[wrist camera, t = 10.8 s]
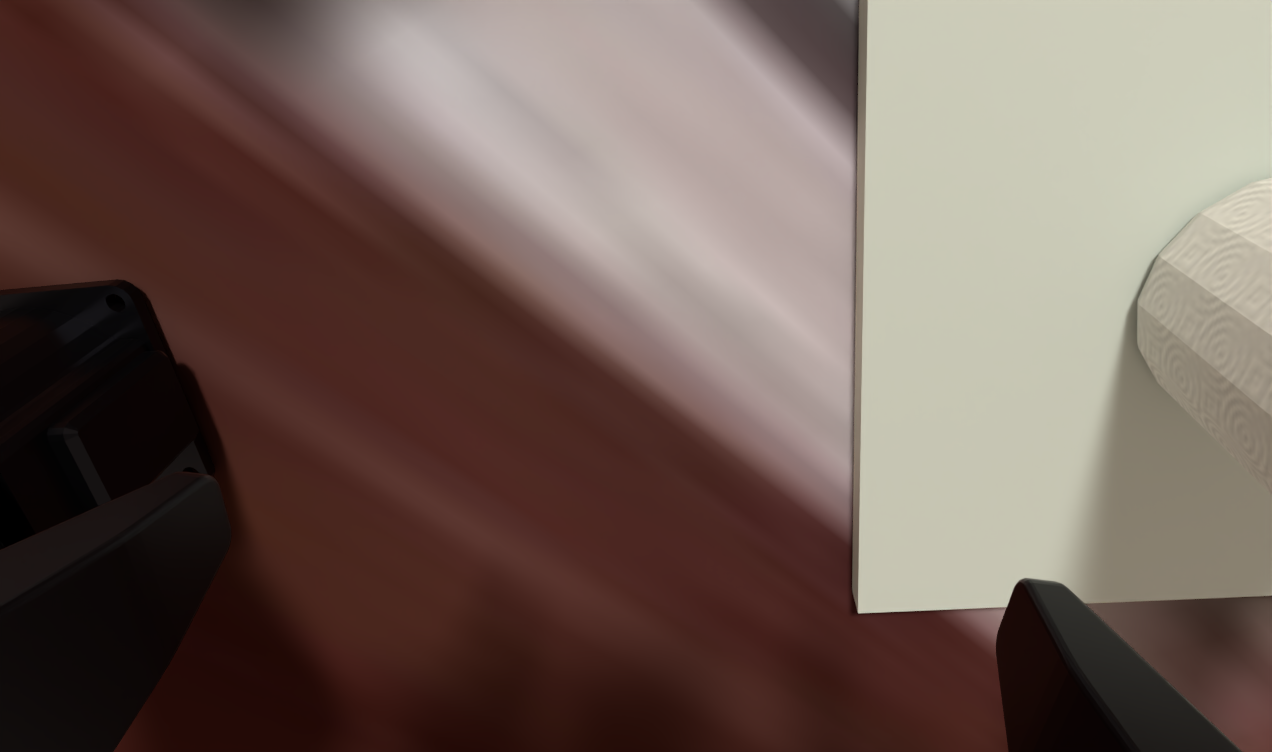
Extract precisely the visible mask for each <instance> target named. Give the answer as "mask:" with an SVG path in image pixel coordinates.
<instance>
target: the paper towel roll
mask: <svg viewBox="0 0 1272 752" xmlns="http://www.w3.org/2000/svg"><path fill="white" fill-rule="evenodd" d="M1137 344H1138V348H1139V350H1140V352H1141V354H1142V355H1143V357H1144V359H1145V361H1146V363H1147V364H1148V366H1149V368H1150V370H1151V372H1152V373H1153V375H1154V377H1155V379H1156V381H1157V383H1158V384H1159V385H1160V386H1161V387H1162V388H1163V389H1164V390H1165V391H1166V392H1167V393H1168V394H1169V395H1170V396H1171V397H1172V398H1173V399H1175V400H1176V401H1177V402H1178V403H1179V404H1180V405H1181V406H1182V407H1183V408H1184V409H1185V410H1186V411H1187V412H1188V413H1189V414H1190V415H1191V416H1192V417H1193V418H1194V419H1195V420H1196V421H1197V422H1198V423H1199V424H1200V425H1201V426H1202V427H1203V428H1204V429H1205V430H1206V431H1207V432H1208V433H1209V434H1210V435H1211V436H1212V437H1213V438H1214V439H1215V440H1216V441H1217V442H1218V443H1219V444H1220V445H1221V446H1222V447H1223V448H1224V449H1226V450H1227V451H1228V452H1229V453H1230V454H1231V455H1232V456H1233V457H1234V458H1235V459H1236V460H1237V461H1238V462H1239V463H1240V464H1241V465H1242V466H1243V467H1244V468H1245V469H1246V470H1247V471H1248V472H1249V473H1250V474H1251V475H1252V476H1253V477H1254V478H1255V479H1256V480H1257V481H1258V482H1259V483H1260V484H1261V485H1262V486H1263V487H1264V488H1265V489H1266V490H1267V491H1268V492H1269V493H1270V494H1271V495H1272V178H1268V179H1264V180H1259V181H1255V182H1251V183H1249V184H1248V185H1246V186H1244V187H1242V188H1241V189H1239V190H1237V191H1235V192H1234V193H1232V194H1230V195H1228V196H1227V197H1225V198H1223V199H1221V200H1220V201H1218V202H1216V203H1214V204H1213V205H1211V206H1209V207H1207V208H1206V209H1204V210H1202V211H1200V212H1199V213H1197V215H1196V216H1195V217H1194V218H1193V219H1192V220H1191V221H1190V222H1189V223H1188V224H1187V225H1186V226H1185V227H1184V228H1183V229H1182V230H1181V231H1180V232H1179V233H1178V235H1177V236H1176V237H1175V238H1174V239H1173V240H1172V241H1171V242H1170V243H1169V244H1168V245H1167V246H1166V247H1165V248H1164V249H1163V250H1162V251H1161V252H1160V253H1159V255H1158V257H1157V259H1156V261H1155V263H1154V265H1153V268H1152V270H1151V272H1150V274H1149V276H1148V279H1147V281H1146V283H1145V285H1144V287H1143V289H1142V292H1141V294H1140V296H1139V298H1138V306H1137Z"/></svg>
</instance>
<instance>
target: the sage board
mask: <svg viewBox="0 0 1272 752" xmlns="http://www.w3.org/2000/svg"><path fill="white" fill-rule="evenodd" d="M1268 178H1272V0H859V51H858V136H857V220H856V305H855V390H854V475H853V560H852V592H853V596H854V600H855V604H856V608H857V612H858V613H879V612H902V611H925V610H949V609H972V608H996V607H1007V605H1008V603H1009V600H1010V597H1011V594H1012V592H1013V589H1014V587H1015V585H1016V583H1017V582H1018V581H1019V580H1021V579H1023V578H1033V579H1041V580H1049V581H1056V582H1059V583H1062V584H1064V585H1065V586H1066V587H1067V588H1069V589H1070V590H1071V591H1072V592H1073V593H1074V594H1075V595H1076V596H1077V597H1078V598H1079V599H1080V600H1082V601H1083V602H1084V603H1085V604H1089V603H1113V602H1136V601H1159V600H1183V599H1206V598H1229V597H1253V596H1272V495H1271V494H1270V493H1269V492H1268V491H1267V490H1266V489H1265V488H1264V487H1263V486H1262V485H1261V484H1260V483H1259V482H1258V481H1257V480H1256V479H1255V478H1254V477H1253V476H1252V475H1251V474H1250V473H1249V472H1248V471H1247V470H1246V469H1245V468H1244V467H1243V466H1242V465H1241V464H1240V463H1239V462H1238V461H1237V460H1236V459H1235V458H1234V457H1233V456H1232V455H1231V454H1230V453H1229V452H1228V451H1227V450H1226V449H1224V448H1223V447H1222V446H1221V445H1220V444H1219V443H1218V442H1217V441H1216V440H1215V439H1214V438H1213V437H1212V436H1211V435H1210V434H1209V433H1208V432H1207V431H1206V430H1205V429H1204V428H1203V427H1202V426H1201V425H1200V424H1199V423H1198V422H1197V421H1196V420H1195V419H1194V418H1193V417H1192V416H1191V415H1190V414H1189V413H1188V412H1187V411H1186V410H1185V409H1184V408H1183V407H1182V406H1181V405H1180V404H1179V403H1178V402H1177V401H1176V400H1175V399H1173V398H1172V397H1171V396H1170V395H1169V394H1168V393H1167V392H1166V391H1165V390H1164V389H1163V388H1162V387H1161V386H1160V385H1159V384H1158V383H1157V381H1156V379H1155V377H1154V375H1153V373H1152V372H1151V370H1150V368H1149V366H1148V364H1147V363H1146V361H1145V359H1144V357H1143V355H1142V354H1141V352H1140V350H1139V348H1138V344H1137V306H1138V298H1139V296H1140V294H1141V292H1142V289H1143V287H1144V285H1145V283H1146V281H1147V279H1148V276H1149V274H1150V272H1151V270H1152V268H1153V265H1154V263H1155V261H1156V259H1157V257H1158V255H1159V253H1160V252H1161V251H1162V250H1163V249H1164V248H1165V247H1166V246H1167V245H1168V244H1169V243H1170V242H1171V241H1172V240H1173V239H1174V238H1175V237H1176V236H1177V235H1178V233H1179V232H1180V231H1181V230H1182V229H1183V228H1184V227H1185V226H1186V225H1187V224H1188V223H1189V222H1190V221H1191V220H1192V219H1193V218H1194V217H1195V216H1196V215H1197V213H1199V212H1200V211H1202V210H1204V209H1206V208H1207V207H1209V206H1211V205H1213V204H1214V203H1216V202H1218V201H1220V200H1221V199H1223V198H1225V197H1227V196H1228V195H1230V194H1232V193H1234V192H1235V191H1237V190H1239V189H1241V188H1242V187H1244V186H1246V185H1248V184H1249V183H1251V182H1255V181H1259V180H1264V179H1268Z"/></svg>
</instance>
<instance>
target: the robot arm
mask: <svg viewBox="0 0 1272 752" xmlns="http://www.w3.org/2000/svg"><path fill="white" fill-rule="evenodd" d="M115 294H116V295H118V296H120V297H121V298H122V299H123V300H124V302H125V305H123V304H121V303H119V302H118V300H117V299H116V297H115ZM190 467H191V468H194V469H196V470H197V471H198V472H199V473H196V472H194V471H193V470H192V469H191V468H190ZM214 473H215V468H214V464H213V462H212V459H211V457H210V455H209V452H208V450H207V448H206V445H205V443H204V441H203V438H202V436H201V433H200V431H199V428H198V425H197V423H196V421H195V418H194V416H193V414H192V411H191V409H190V407H189V404H188V402H187V399H186V397H185V395H184V392H183V390H182V388H181V385H180V383H179V381H178V378H177V376H176V373H175V371H174V369H173V366H172V364H171V362H170V359H169V358H168V356H167V353H166V351H165V348H164V346H163V344H162V341H161V339H160V337H159V334H158V332H157V330H156V327H155V325H154V323H153V320H152V318H151V315H150V313H149V311H148V308H147V306H146V304H145V301H144V299H143V297H142V295H141V293H140V291H139V290H138V289H137V288H136V287H135V286H134V285H133V284H131V283H129V282H127V281H125V280H107V281H96V282H85V283H74V284H63V285H52V286H41V287H30V288H19V289H8V290H0V752H113V751H114V750H115V748H116V747H117V745H118V744H119V742H120V741H121V739H122V738H123V736H124V734H125V733H126V731H127V730H128V728H129V727H130V725H131V724H132V722H133V720H134V719H135V717H136V716H137V714H138V713H139V711H140V710H141V708H142V706H143V705H144V703H145V702H146V700H147V699H148V697H149V696H150V694H151V692H152V691H153V689H154V688H155V686H156V685H157V683H158V682H159V680H160V678H161V677H162V675H163V673H164V672H165V670H166V668H167V667H168V665H169V663H170V662H171V660H172V658H173V656H174V654H175V652H176V651H177V649H178V647H179V645H180V643H181V641H182V639H183V637H184V635H185V634H186V632H187V630H188V628H189V626H190V624H191V622H192V620H193V618H194V616H195V614H196V612H197V610H198V608H199V606H200V604H201V602H202V600H203V598H204V596H205V594H206V592H207V590H208V588H209V586H210V585H211V583H212V581H213V579H214V577H215V575H216V573H217V571H218V569H219V567H220V565H221V563H222V561H223V559H224V557H225V555H226V553H227V551H228V549H229V546H230V542H231V525H230V522H229V518H228V514H227V511H226V507H225V504H224V500H223V496H222V493H221V489H220V486H219V483H218V482H217V480H216V479H215V478H214V477H213V476H214ZM996 656H997V664H998V672H999V680H1000V688H1001V696H1002V704H1003V712H1004V719H1005V727H1006V735H1007V743H1008V751H1009V752H1242V751H1241V750H1240V749H1239V748H1238V747H1237V746H1236V745H1235V744H1234V743H1233V742H1232V741H1230V740H1229V739H1228V738H1227V737H1226V736H1225V735H1224V734H1223V733H1222V732H1221V731H1220V730H1219V729H1218V728H1217V727H1216V726H1215V725H1213V724H1212V723H1211V722H1210V721H1209V720H1208V719H1207V718H1206V717H1205V716H1204V715H1203V714H1202V713H1201V712H1200V711H1199V710H1198V709H1196V708H1195V707H1194V706H1193V705H1192V704H1191V703H1190V702H1189V701H1188V700H1187V699H1186V698H1185V697H1184V696H1183V695H1182V694H1180V693H1179V692H1178V691H1177V690H1176V689H1175V688H1174V687H1173V686H1172V685H1171V684H1170V683H1169V682H1168V681H1167V680H1166V679H1165V678H1163V677H1162V676H1161V675H1160V674H1159V673H1158V672H1157V671H1156V670H1155V669H1154V668H1153V667H1152V666H1151V665H1150V664H1149V663H1147V662H1146V661H1145V660H1144V659H1143V658H1142V657H1141V656H1140V655H1139V654H1138V653H1137V652H1136V651H1135V650H1134V649H1133V648H1132V647H1130V646H1129V645H1128V644H1127V643H1126V642H1125V641H1124V640H1123V639H1122V638H1121V637H1120V636H1119V635H1118V634H1117V633H1116V632H1114V631H1113V630H1112V629H1111V628H1110V627H1109V626H1108V625H1107V624H1106V623H1105V622H1104V621H1103V620H1102V619H1101V618H1100V617H1099V616H1097V615H1096V614H1095V613H1094V612H1093V611H1092V610H1091V609H1090V608H1089V607H1088V606H1087V605H1086V604H1085V603H1084V602H1083V601H1082V600H1080V599H1079V598H1078V597H1077V596H1076V595H1075V594H1074V593H1073V592H1072V591H1071V590H1070V589H1069V588H1067V587H1066V586H1065V585H1064V584H1062V583H1059V582H1056V581H1049V580H1041V579H1033V578H1023V579H1021V580H1019V581H1018V582H1017V583H1016V585H1015V587H1014V589H1013V592H1012V594H1011V597H1010V600H1009V603H1008V605H1007V608H1006V611H1005V614H1004V616H1003V619H1002V622H1001V624H1000V627H999V630H998V634H997V639H996Z"/></svg>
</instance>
